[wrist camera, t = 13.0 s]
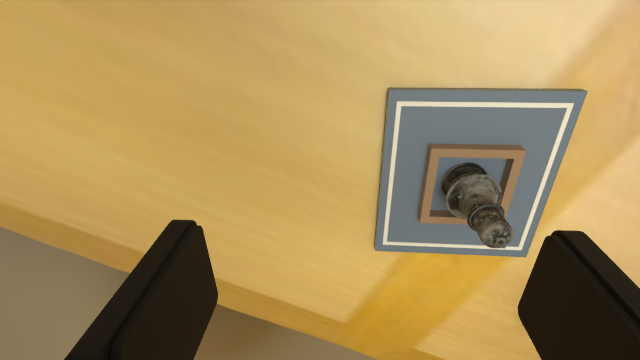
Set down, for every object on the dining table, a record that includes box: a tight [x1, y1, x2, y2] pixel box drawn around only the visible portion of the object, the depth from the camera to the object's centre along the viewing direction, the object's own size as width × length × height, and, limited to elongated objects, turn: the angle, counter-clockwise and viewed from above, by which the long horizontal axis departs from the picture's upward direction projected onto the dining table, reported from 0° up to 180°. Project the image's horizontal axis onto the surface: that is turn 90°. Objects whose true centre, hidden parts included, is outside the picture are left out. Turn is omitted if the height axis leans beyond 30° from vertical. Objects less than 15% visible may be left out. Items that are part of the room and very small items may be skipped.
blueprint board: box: [375, 88, 588, 257], centre depth 40 cm, size 22×20×2 cm
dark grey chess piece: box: [441, 162, 513, 248], centre depth 35 cm, size 6×6×12 cm
